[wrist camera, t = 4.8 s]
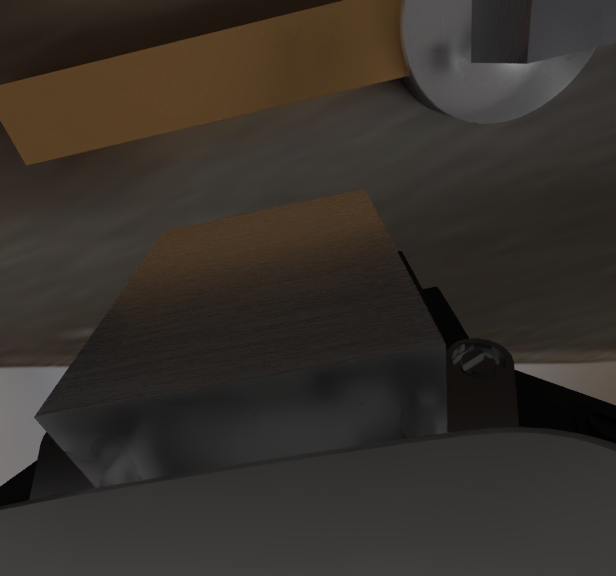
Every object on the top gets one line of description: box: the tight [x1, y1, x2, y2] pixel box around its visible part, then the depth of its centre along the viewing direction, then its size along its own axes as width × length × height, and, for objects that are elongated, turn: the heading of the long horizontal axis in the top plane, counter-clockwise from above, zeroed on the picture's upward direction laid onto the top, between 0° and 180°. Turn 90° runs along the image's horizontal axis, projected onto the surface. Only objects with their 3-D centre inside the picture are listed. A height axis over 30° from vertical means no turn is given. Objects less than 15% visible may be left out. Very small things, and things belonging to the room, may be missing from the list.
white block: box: [34, 189, 447, 486], centre depth 10 cm, size 6×6×7 cm
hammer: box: [0, 0, 616, 165], centre depth 14 cm, size 24×8×6 cm, turn 102°
